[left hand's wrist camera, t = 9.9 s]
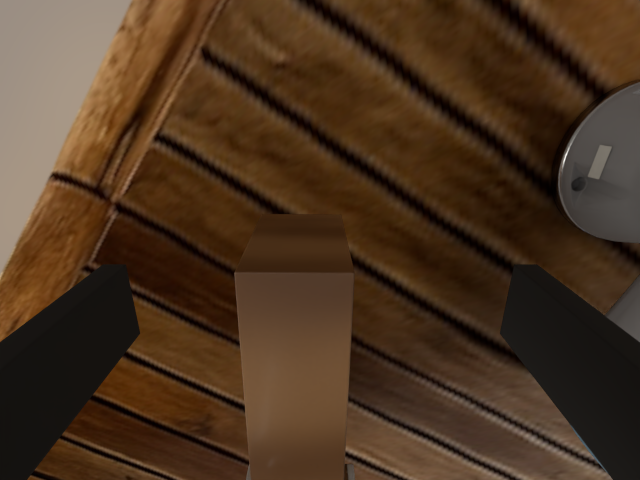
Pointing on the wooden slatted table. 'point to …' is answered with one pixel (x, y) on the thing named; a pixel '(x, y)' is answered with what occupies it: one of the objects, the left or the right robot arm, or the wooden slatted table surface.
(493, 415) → the wooden slatted table surface
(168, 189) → the wooden slatted table surface
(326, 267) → the bar
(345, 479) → the right robot arm
